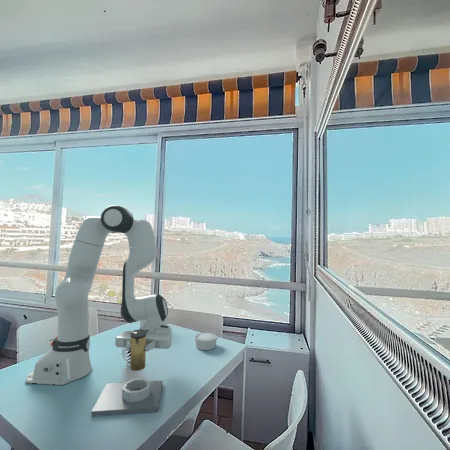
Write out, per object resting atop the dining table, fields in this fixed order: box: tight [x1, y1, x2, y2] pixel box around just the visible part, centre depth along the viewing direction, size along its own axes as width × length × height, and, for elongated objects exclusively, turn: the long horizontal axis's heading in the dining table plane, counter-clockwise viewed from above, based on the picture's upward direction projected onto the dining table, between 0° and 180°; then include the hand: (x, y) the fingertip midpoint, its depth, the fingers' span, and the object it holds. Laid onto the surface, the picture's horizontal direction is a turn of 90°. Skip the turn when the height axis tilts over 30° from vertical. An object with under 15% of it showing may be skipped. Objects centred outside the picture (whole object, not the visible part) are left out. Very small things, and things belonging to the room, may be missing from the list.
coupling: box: [129, 328, 147, 372], centre depth 97 cm, size 8×5×12 cm
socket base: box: [91, 377, 163, 417], centre depth 96 cm, size 20×16×4 cm
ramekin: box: [194, 332, 218, 351], centre depth 140 cm, size 11×11×5 cm
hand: (137, 348), depth 96 cm, fingers closed on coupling, 5 cm apart
